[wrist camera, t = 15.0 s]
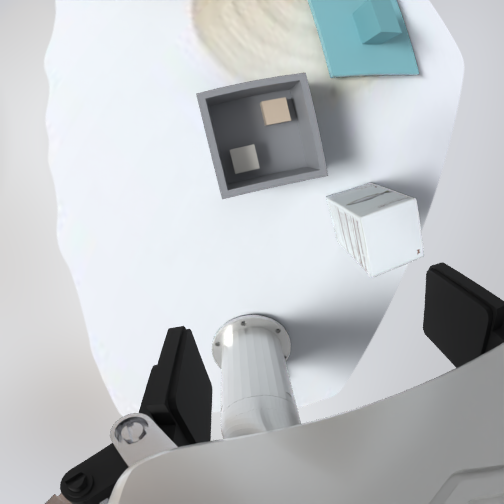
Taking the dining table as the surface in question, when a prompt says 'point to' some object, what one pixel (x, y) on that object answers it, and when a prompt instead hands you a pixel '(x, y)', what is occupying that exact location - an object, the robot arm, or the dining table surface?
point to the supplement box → (377, 227)
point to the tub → (262, 134)
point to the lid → (363, 37)
